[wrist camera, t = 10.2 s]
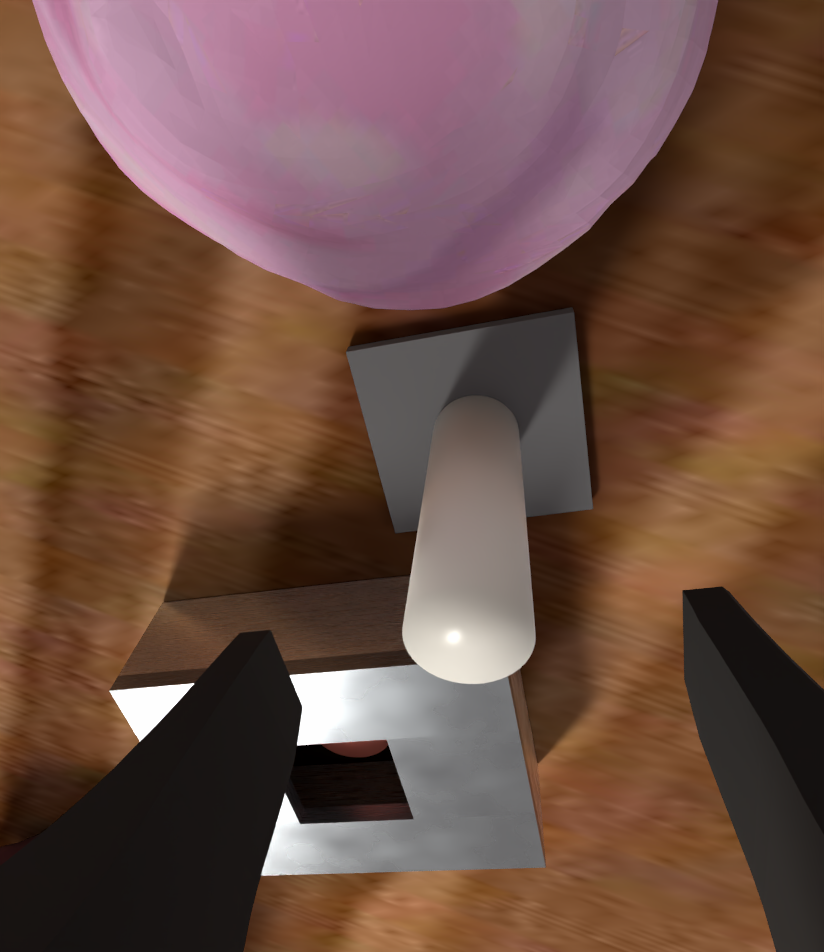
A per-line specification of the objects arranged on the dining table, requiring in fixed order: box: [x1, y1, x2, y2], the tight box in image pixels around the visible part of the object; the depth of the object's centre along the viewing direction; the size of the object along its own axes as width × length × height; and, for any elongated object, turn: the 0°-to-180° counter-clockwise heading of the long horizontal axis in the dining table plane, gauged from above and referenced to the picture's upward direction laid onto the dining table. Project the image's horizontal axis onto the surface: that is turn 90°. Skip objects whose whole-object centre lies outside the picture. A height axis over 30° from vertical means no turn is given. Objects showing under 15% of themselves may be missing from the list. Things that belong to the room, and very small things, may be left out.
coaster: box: [346, 307, 593, 533], centre depth 19 cm, size 6×6×1 cm
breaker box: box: [110, 575, 546, 876], centre depth 24 cm, size 12×10×4 cm
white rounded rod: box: [402, 395, 536, 684], centre depth 16 cm, size 2×2×8 cm
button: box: [321, 740, 388, 757], centre depth 24 cm, size 3×3×2 cm
